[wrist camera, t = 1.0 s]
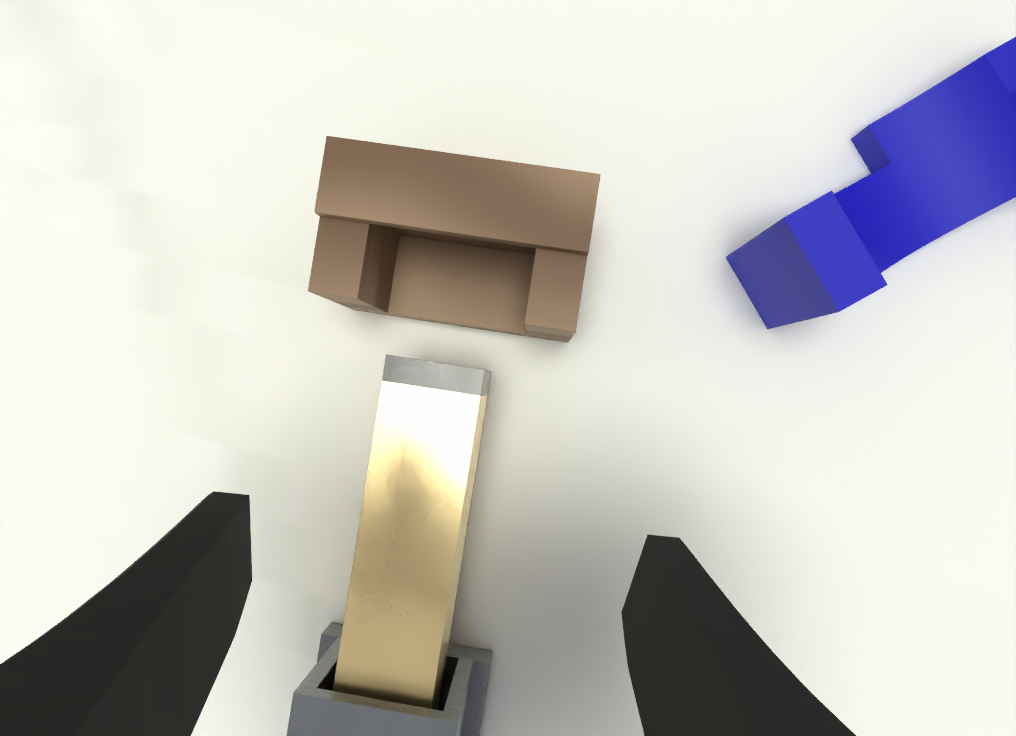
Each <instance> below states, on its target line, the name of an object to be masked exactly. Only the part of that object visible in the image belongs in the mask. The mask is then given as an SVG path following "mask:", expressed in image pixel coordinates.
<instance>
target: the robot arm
mask: <svg viewBox="0 0 1016 736" xmlns="http://www.w3.org/2000/svg"><path fill="white" fill-rule="evenodd" d="M251 582H252V563H251V532H250V500H249V495H243V494H233V493H223V492H212V493H211V494H209V495H208V496H207V497H206V498H205V499H203V500H202V501H201V502H200V503H199V504H198V505H197V506H196V507H195V508H194V509H193V510H192V511H191V512H190V513H189V514H187V515H186V516H185V517H184V518H183V519H182V520H181V521H180V522H179V523H178V524H177V525H176V526H175V527H174V528H172V529H171V530H170V531H169V532H168V533H167V534H166V535H165V536H164V537H163V538H161V539H160V540H159V541H158V542H157V543H156V544H155V545H154V546H153V547H151V548H150V549H149V550H148V551H147V552H146V553H145V554H143V555H142V556H141V557H140V558H139V559H138V560H136V561H135V562H134V563H133V564H132V565H131V566H129V567H128V568H127V569H126V570H125V571H124V572H123V573H121V574H120V575H119V576H118V577H117V578H115V579H114V580H113V581H112V582H111V583H109V584H108V585H107V586H106V587H104V588H103V589H102V590H101V591H99V592H98V593H97V594H96V595H94V596H93V597H92V598H90V599H89V600H88V601H87V602H85V603H84V604H83V605H82V606H80V607H79V608H78V609H77V610H75V611H74V612H73V613H71V614H70V615H69V616H68V617H66V618H65V619H64V620H62V621H61V622H60V623H58V624H57V625H56V626H54V627H53V628H52V629H50V630H49V631H47V632H46V633H45V634H43V635H42V636H41V637H39V638H38V639H36V640H35V641H34V642H32V643H31V644H29V645H28V646H26V647H25V648H24V649H22V650H21V651H19V652H18V653H16V654H15V655H13V656H12V657H10V658H9V659H7V660H6V661H5V662H3V663H2V664H0V736H191V734H192V731H193V729H194V727H195V725H196V722H197V720H198V718H199V716H200V713H201V711H202V709H203V707H204V704H205V702H206V700H207V698H208V696H209V693H210V691H211V689H212V687H213V684H214V682H215V680H216V678H217V675H218V673H219V671H220V668H221V666H222V664H223V662H224V659H225V657H226V655H227V653H228V650H229V648H230V646H231V643H232V641H233V639H234V636H235V633H236V630H237V627H238V624H239V621H240V618H241V615H242V612H243V608H244V605H245V602H246V598H247V595H248V592H249V589H250V585H251ZM622 620H623V630H624V639H625V647H626V655H627V662H628V668H629V673H630V677H631V681H632V686H633V690H634V694H635V698H636V702H637V706H638V711H639V715H640V719H641V723H642V727H643V731H644V735H645V736H856V735H855V734H854V733H853V732H852V731H850V730H849V729H848V728H847V727H846V726H845V725H844V724H843V723H842V722H841V721H840V720H839V719H838V718H837V717H836V716H835V715H834V714H833V713H832V712H831V711H829V710H828V709H827V708H826V707H825V706H824V705H823V704H822V703H821V702H820V701H819V700H818V699H817V698H816V697H815V696H814V695H813V694H812V693H811V692H810V691H809V690H808V689H807V688H806V687H805V686H804V685H803V684H802V683H801V682H800V681H799V680H798V679H797V678H796V676H795V675H794V674H793V673H792V672H791V671H790V670H789V669H788V668H787V667H786V666H785V665H784V663H783V662H782V661H781V660H780V659H779V658H778V657H777V656H776V655H775V654H774V653H773V652H772V650H771V649H770V648H769V647H768V646H767V645H766V644H765V642H764V641H763V640H762V639H761V638H760V637H759V636H758V634H757V633H756V632H755V631H754V630H753V629H752V627H751V626H750V625H749V624H748V623H747V622H746V620H745V619H744V618H743V617H742V616H741V614H740V613H739V612H738V611H737V610H736V608H735V607H734V606H733V605H732V603H731V602H730V601H729V600H728V598H727V597H726V596H725V595H724V593H723V592H722V591H721V590H720V588H719V587H718V586H717V585H716V583H715V582H714V581H713V580H712V578H711V577H710V576H709V575H708V573H707V572H706V571H705V569H704V568H703V567H702V566H701V564H700V563H699V562H698V561H697V559H696V558H695V557H694V555H693V554H692V553H691V552H690V550H689V549H688V548H687V547H686V545H685V544H684V543H683V542H682V540H681V539H680V538H676V537H666V536H656V535H647V538H646V541H645V544H644V547H643V550H642V553H641V556H640V559H639V562H638V565H637V568H636V571H635V574H634V577H633V580H632V583H631V586H630V589H629V592H628V595H627V598H626V601H625V604H624V607H623V609H622Z"/></svg>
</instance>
